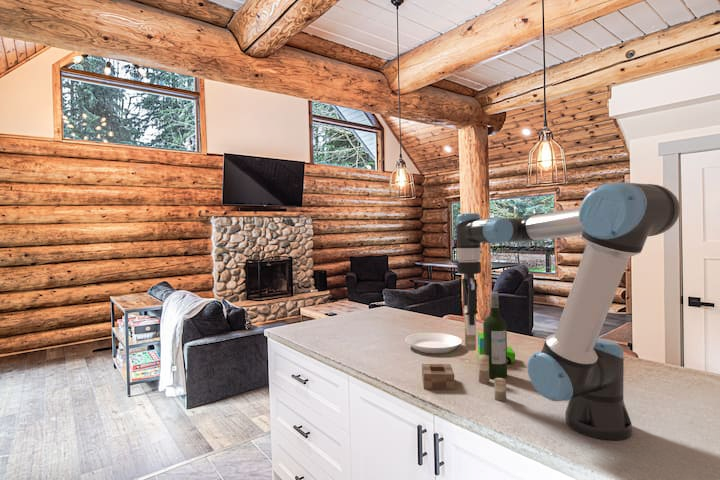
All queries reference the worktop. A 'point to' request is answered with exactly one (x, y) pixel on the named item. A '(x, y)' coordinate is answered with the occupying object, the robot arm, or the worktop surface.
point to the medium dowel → (484, 369)
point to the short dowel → (500, 389)
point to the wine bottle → (495, 340)
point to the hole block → (438, 376)
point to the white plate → (433, 342)
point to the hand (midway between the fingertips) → (470, 333)
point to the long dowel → (469, 336)
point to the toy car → (481, 349)
